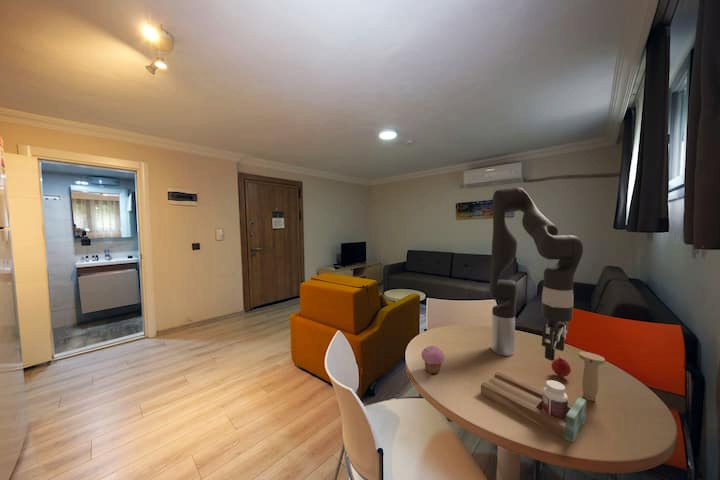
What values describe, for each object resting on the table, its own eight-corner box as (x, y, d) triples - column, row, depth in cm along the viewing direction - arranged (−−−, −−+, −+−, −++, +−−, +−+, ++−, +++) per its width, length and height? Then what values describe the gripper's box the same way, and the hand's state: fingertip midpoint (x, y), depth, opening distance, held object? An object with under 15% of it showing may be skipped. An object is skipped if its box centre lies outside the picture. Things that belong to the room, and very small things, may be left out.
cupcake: (438, 364, 112) (438, 341, 111) (448, 376, 103) (448, 352, 102) (418, 366, 110) (418, 343, 110) (426, 378, 102) (426, 353, 101)
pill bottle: (570, 420, 80) (572, 386, 79) (562, 430, 76) (563, 394, 76) (547, 408, 85) (548, 376, 84) (538, 416, 82) (539, 383, 81)
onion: (567, 374, 103) (568, 354, 102) (572, 382, 98) (573, 362, 97) (549, 371, 105) (550, 351, 105) (553, 379, 100) (554, 359, 99)
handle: (601, 406, 85) (604, 362, 84) (576, 397, 90) (578, 355, 89) (602, 399, 89) (605, 356, 88) (577, 390, 93) (579, 350, 92)
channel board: (497, 380, 100) (497, 362, 99) (585, 421, 79) (586, 399, 79) (480, 393, 93) (481, 374, 92) (572, 442, 72) (573, 418, 72)
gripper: (550, 294, 86) (548, 342, 87) (533, 304, 77) (531, 357, 78) (580, 300, 80) (577, 351, 81) (564, 311, 71) (561, 368, 72)
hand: (554, 354), depth 80 cm, fingers open, 8 cm apart
